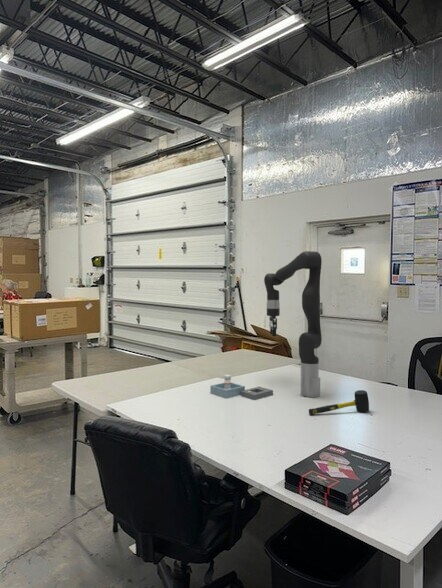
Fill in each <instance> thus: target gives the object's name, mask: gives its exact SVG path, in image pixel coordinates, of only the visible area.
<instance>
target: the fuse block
mask: <svg viewBox="0 0 442 588" xmlns="http://www.w3.org/2000/svg"><path fill="white" fill-rule="evenodd" d="M273 395H274V390H273V389H270V388H268V387H267V388H266V387H263V386H256V387H251V388H249V389H245V390H243V391H241V395H240V396H241V397H242V398H243V397H244V398H246V399H250V400H253V401H257V400H259V399H263V397H264V398H266V397H271V396H273Z"/></svg>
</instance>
